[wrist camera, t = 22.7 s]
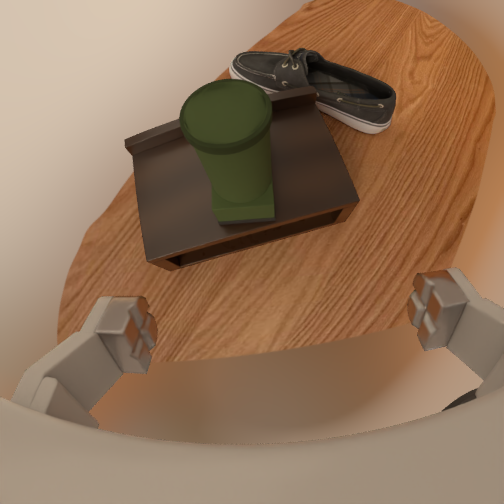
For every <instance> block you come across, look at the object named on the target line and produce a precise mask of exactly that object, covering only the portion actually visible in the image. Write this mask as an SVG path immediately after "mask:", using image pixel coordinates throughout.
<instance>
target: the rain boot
mask: <svg viewBox="0 0 504 504" xmlns="http://www.w3.org/2000/svg"><path fill="white" fill-rule="evenodd" d="M272 118H273V115H272V103H271V100H270V98H269V96H268V95H267V93H266V92H265V91H264V90H263V89H262V88H261V87H259V86H258V85H256V84H254V83H252V82H249V81H246V80H241V79H223V80H218V81H214V82H211V83H208V84H206V85H204V86H202V87H201V88H199V89H198V90H196V91H195V92H193V93H192V94H191V95H190V96H189V97H188V99H187V100H186V101H185V103H184V105H183V106H182V109H181V112H180V117H179V122H180V127H181V130H182V132H183V134H184V136H185V138H186V139H187V141H188V142H189V143H190V144H191V145H192V146H193V147H194V149H195V151H196V153H197V155H198V157H199V159H200V161H201V163H202V165H203V167H204V169H205V171H206V173H207V176H208V178H209V180H210V182H211V184H212V211H213V213H214V214H215V216H216V218H217V219H218V224H219V225H226V224H239V223H252V222H266V221H276V214H275V202H274V191H273V179H272V168H271V143H270V126H271V123H272Z"/></svg>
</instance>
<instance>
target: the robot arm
mask: <svg viewBox="0 0 504 504" xmlns="http://www.w3.org/2000/svg"><path fill="white" fill-rule="evenodd" d="M413 286H414V288H415V290H414V291H413V292H412V293H411V295H410V296H409V300H408V304H407V306H408V316H409V319H410V321H411V324H412V325H413V326H415V327H416V328H418V329H419V330H418V333H417V336H418V338H419V340H420V342H421V345H422V347H423V349H424V351H427V350H432V349H436V348H441V347H445V346H447V349H449V350H450V351H451V352H452V353H453V354H454V355H456V356H457V357H458V358H459V359H460V360H461V361H463V362H464V363H465V364H466V365H467V366H468V367H469V368H470V369H472V370H473V371H474V372H475V373H476V374H477V375H478V376H479V377H481V378H482V379H483V380H484V382H483V383H482V384H481V385H480V387H479V388H478V389H477V391H476V393H475V395H476V397H477V398H476V399H474V400H471V401H469V402H466V403H464V404H461V405H459V406H456V407H453V408H450V409H448V410H445V411H442V412H439V413H436V414H433V415H430V416H427V417H423V418H420V419H417V420H413V421H410V422H406V423H402V424H399V425H394V426H390V427H386V428H382V429H378V430H373V431H368V432H363V433H358V434H352V435H346V436H340V437H334V438H327V439H320V440H311V441H300V442H288V443H274V444H273V443H272V444H206V443H190V442H178V441H168V440H159V439H152V438H144V437H138V436H132V435H126V434H121V433H115V432H111V431H106V430H101V429H98V426H99V424H98V422H97V420H96V419H95V418H94V417H93V416H92V415H90V413H89V411H90V410H91V409H92V407H93V406H94V405H95V404H96V403H97V402H98V401H99V400H100V399H101V397H103V395H104V394H105V393H106V392H107V391H108V390H109V389H110V388H111V387H112V386H113V385H114V383H115V382H116V381H117V380H118V379H119V378H120V377H121V376H122V375H123V372H125V373H142V374H144V373H145V374H147V371H148V368H149V365H150V361H151V358H152V356H151V354H150V352H149V351H150V350H151V349H152V348H153V347H154V346H155V345H156V341H157V334H158V329H157V324H156V321H155V318H154V316H152V315H151V314H150V313H148V312H147V310H148V308H149V305H148V302H147V300H146V298H145V297H143V296H102V297H100V298H98V300H97V302H96V303H95V305H94V307H93V309H92V310H91V312H90V314H89V316H88V317H87V319H86V321H85V323H84V325H83V327H82V328H81V330H80V332H75V333H74V334H72V335H71V336H70V337H68V338H67V339H66V340H64V341H63V342H62V343H60V344H59V345H58V346H56V347H55V348H54V349H52V350H51V351H50V352H49V353H47V354H46V355H45V356H43V357H42V358H41V359H39V360H38V361H37V362H35V363H34V364H33V365H32V366H30V367H29V368H28V369H26V370H25V373H24V374H23V376H22V378H21V380H20V382H19V385H18V386H17V388H16V390H15V392H14V395H13V397H12V399H11V401H9V400H7V399H5V398H2V397H0V504H504V308H502V307H500V306H499V305H497V304H495V303H493V302H492V301H490V300H488V299H486V298H485V299H482V297H481V296H480V295H479V293H478V292H477V291H476V289H475V288H474V287H473V285H472V284H471V283H470V282H469V281H468V279H467V278H466V276H465V275H464V274H463V273H462V271H461V270H460V269H458V268H456V267H454V268H448V269H443V270H438V271H431V272H424V273H417V275H416V276H415V278H414V281H413Z"/></svg>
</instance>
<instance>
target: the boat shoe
mask: <svg viewBox="0 0 504 504" xmlns="http://www.w3.org/2000/svg"><path fill="white" fill-rule="evenodd" d="M229 72H230V76H231V78H232V79H241V80H246V81H249V82H252V83H254V84H256V85H258V86H259V87H261V88H262V89H263V90H264V91H265V92H266V93H267V94H271V93H276V92H280V91H286V90H291V89H296V88H302V87H308V86H314V88H315V90H316V92H317V96H316V103H315V104H316V106H317V108H318V110H320V111H322V112H324V113H326V114H328V115H330V116H332V117H334V118H336V119H337V120H339V121H341V122H343V123H345V124H347V125H348V126H350V127H352V128H354V129H357V130H359V131H362V132H364V133H368V134H376V133H379V132H382V131H384V130H385V129H387V128H388V127H389V126H390V124H391V118H392V114H393V112H394V108H395V104H396V93H395V91H394V90H393V88H391V87H390V86H389V85H388V84H386V83H384V82H382V81H380V80H378V79H376V78H373V77H371V76H369V75H366V74H363V73H361V72H359V71H356V70H354V69H351V68H348V67H344V66H341V65H339V64H336V63H333V62H330V61H327V60H325V59H324V58H323V57H322V56H321V55H320V54H319V53H318V52H316V51H313V50H308V51H307V50H306V49H305V48H299V49H297V50H295V51H294V50H289V54H284V53H277V52H258V51H249V52H243V53H240V54H238V55H237V56H236V57H235V58H234V59H233V60H232V61H231V63H230V67H229Z"/></svg>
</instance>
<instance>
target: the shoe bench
mask: <svg viewBox="0 0 504 504" xmlns="http://www.w3.org/2000/svg"><path fill="white" fill-rule="evenodd" d="M267 95H268V96H269V98H270V100H271V103H272V115H273V118H272V123H271V126H270V143H271V168H272V179H273V191H274V202H275V214H276V221H266V222H252V223H239V224H226V225H219V224H218V219H217V218H216V216H215V214H214V213H213V211H212V184H211V182H210V180H209V178H208V176H207V173H206V171H205V169H204V167H203V165H202V163H201V161H200V159H199V157H198V155H197V153H196V151H195V149H194V147H193V146H192V145H191V144H190V143H189V142H188V141H187V139H186V138H185V136H184V134H183V132H182V130H181V127H180V122H179V119H177V120H174V121H171V122H169V123H166V124H163V125H161V126H158V127H155V128H152V129H150V130H147V131H144V132H142V133H139V134H137V135H135V136H132V137H130V138H127V139H125V148H126V149H127V150H128V151H129V153H130V154H131V155H132V156H133V167H134V177H135V186H136V194H137V202H138V210H139V217H140V224H141V230H142V237H143V243H144V249H145V254H146V260H147V262H149V263H152V264H154V265H156V266H159V267H161V268H164V269H166V270H168V271H173V270H177V269H180V268H184V267H187V266H191V265H194V264H198V263H201V262H204V261H208V260H211V259H215V258H218V257H222V256H225V255H229V254H232V253H236V252H239V251H243V250H246V249H250V248H253V247H257V246H260V245H264V244H267V243H271V242H274V241H278V240H281V239H285V238H288V237H292V236H296V235H299V234H303V233H306V232H310V231H313V230H317V229H320V228H324V227H327V226H331V225H334V224H338V223H341V222H345V221H346V219H347V218H348V217H349V215H350V214H351V212H352V211H353V210H354V208H355V207H356V205H357V204H358V202H359V201H360V200H359V197H358V195H357V192H356V190H355V187H354V185H353V183H352V180H351V178H350V176H349V173H348V171H347V169H346V166H345V164H344V162H343V160H342V157H341V155H340V153H339V151H338V149H337V146H336V144H335V142H334V140H333V138H332V136H331V134H330V132H329V130H328V128H327V126H326V124H325V122H324V120H323V118H322V116H321V114H320V112H319V110H318V108H317V106H316V104H315V103H316V96H317V92H316V90H315V88H314V86H308V87H302V88H296V89H291V90H286V91H280V92H276V93H271V94H267Z"/></svg>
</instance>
